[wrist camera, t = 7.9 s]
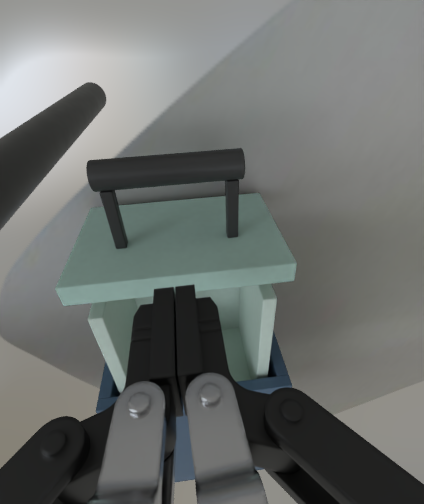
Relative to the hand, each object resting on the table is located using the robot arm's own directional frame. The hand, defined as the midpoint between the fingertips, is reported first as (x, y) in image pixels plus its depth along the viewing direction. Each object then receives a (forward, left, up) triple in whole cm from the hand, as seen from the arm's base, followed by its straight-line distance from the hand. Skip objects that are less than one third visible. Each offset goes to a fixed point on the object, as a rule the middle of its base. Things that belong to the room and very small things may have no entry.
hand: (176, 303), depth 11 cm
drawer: (0, -5, -10) cm, 12 cm away
